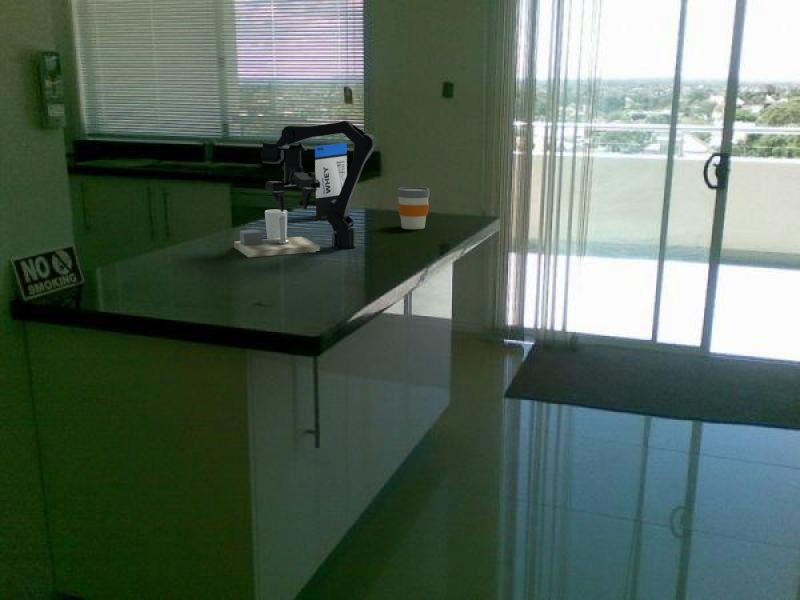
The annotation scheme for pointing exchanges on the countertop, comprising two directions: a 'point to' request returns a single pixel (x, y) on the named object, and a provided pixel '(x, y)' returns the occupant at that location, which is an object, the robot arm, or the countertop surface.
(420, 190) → the reusable coffee cup
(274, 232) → the white cup
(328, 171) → the protein powder
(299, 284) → the countertop surface
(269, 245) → the panel
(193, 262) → the countertop surface
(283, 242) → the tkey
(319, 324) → the countertop surface
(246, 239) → the cover
